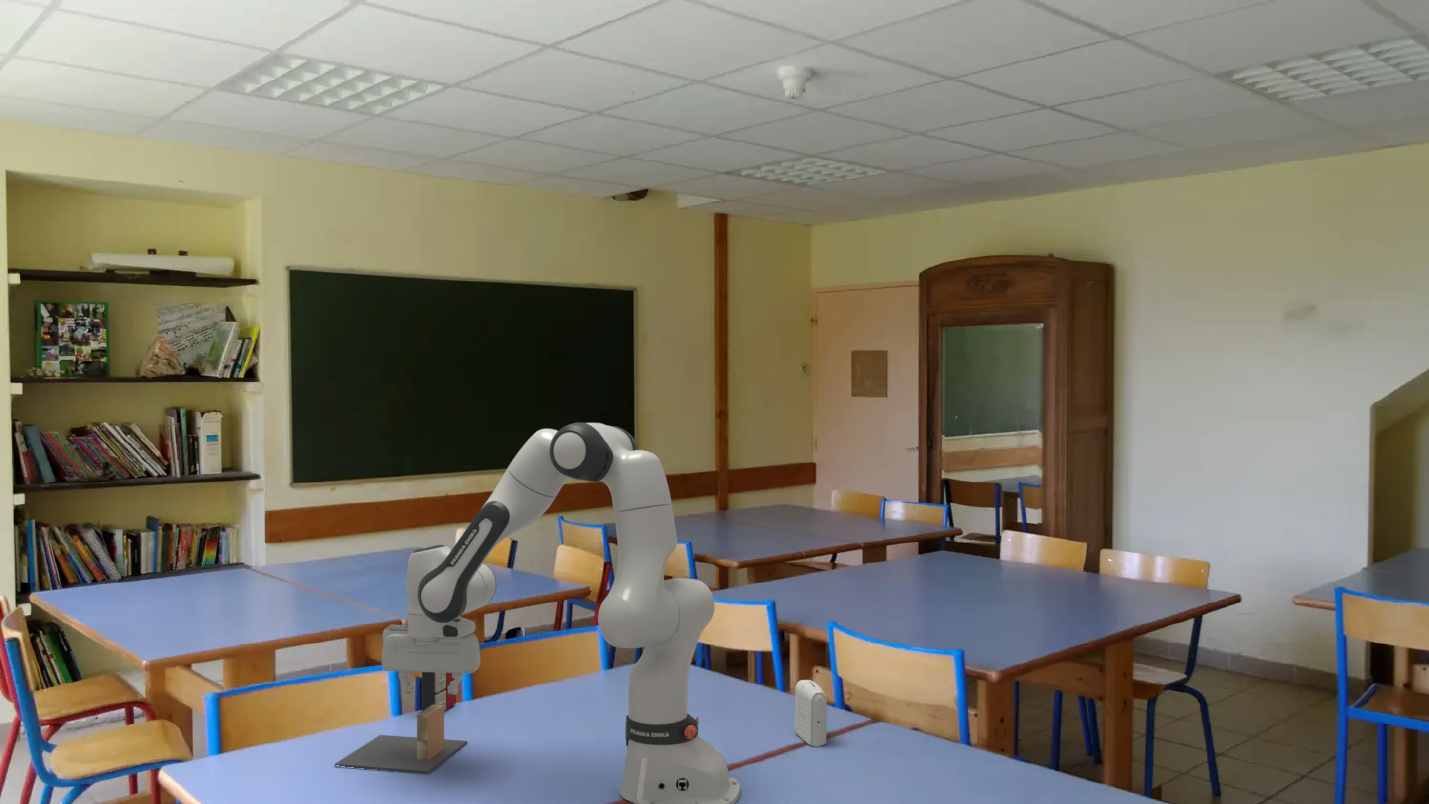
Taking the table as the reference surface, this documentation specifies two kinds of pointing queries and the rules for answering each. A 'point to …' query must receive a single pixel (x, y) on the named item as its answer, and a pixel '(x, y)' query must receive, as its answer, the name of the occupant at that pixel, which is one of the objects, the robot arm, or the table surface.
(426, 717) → the tile
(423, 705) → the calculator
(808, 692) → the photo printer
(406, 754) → the mat
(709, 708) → the table surface
